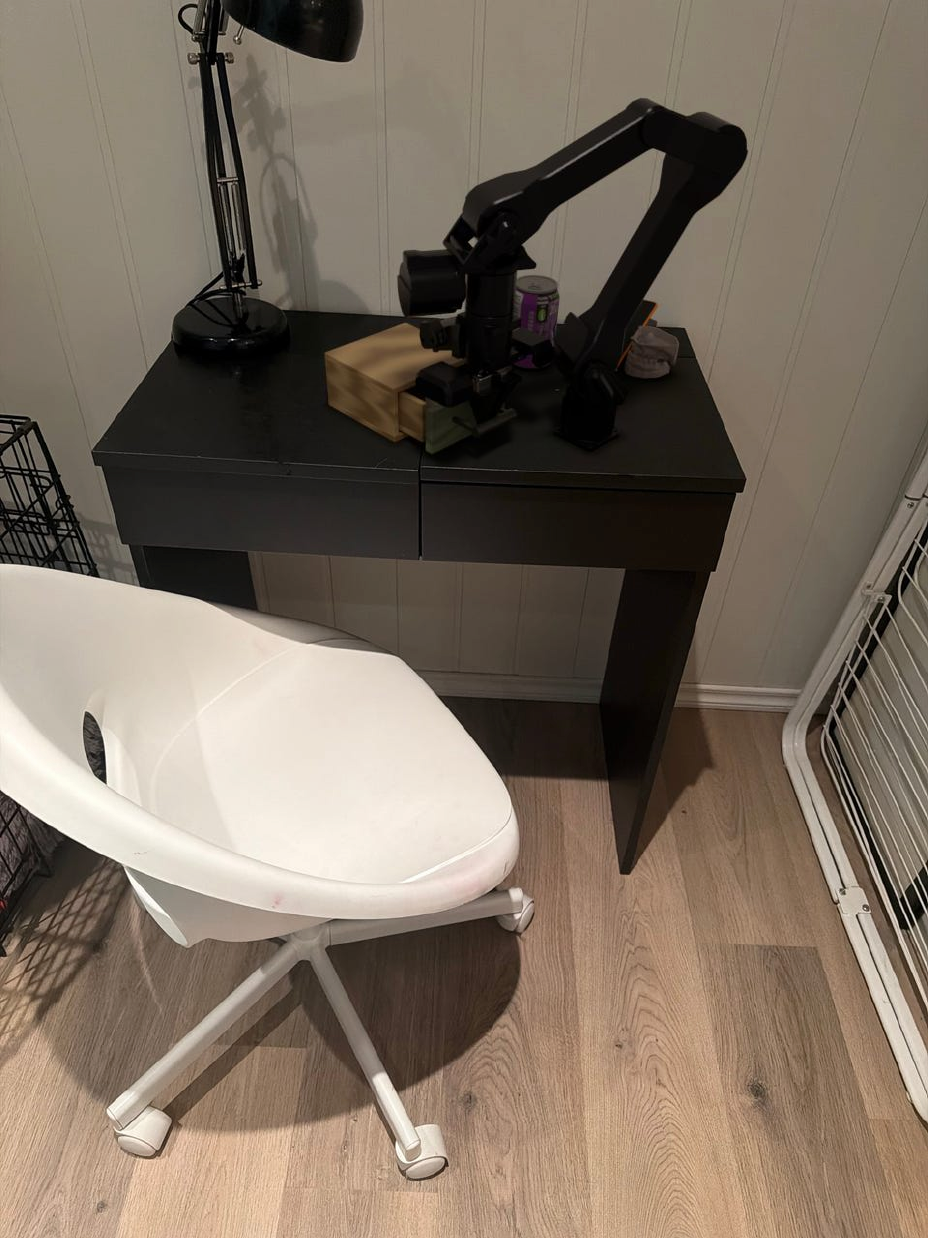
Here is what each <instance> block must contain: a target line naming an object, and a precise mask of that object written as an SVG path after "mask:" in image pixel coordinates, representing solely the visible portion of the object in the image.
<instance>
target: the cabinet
mask: <svg viewBox="0 0 928 1238" xmlns="http://www.w3.org/2000/svg"><path fill="white" fill-rule="evenodd" d="M419 333H420V328H418V327H416V326H414V325H412V324H410V323H407V322H403V323H401V324H398V325H396V326H392V327H390V328H387V329H384V330H382V331H380V332H376V333H374V334H371V335H368V336H365V337H363V338H361V339H358V340H356V341H352V342H349V343H347V344H344V345H341V346H339V347H336V348H334V349H331V350H328V351H325V352H323V353H324V364H325V375H326V388H327V399H328V406H330V407H332V408H333V409H336V410H337V411H339V412H341V413H342V414H344V415H345V416H347V417H349V418H351V419H353V420H355V421H356V422H357V423H360V424H362V425H363V426H365V427H367V428H368V429H370V430H372V431H374V432H375V433H376V434H378V435H381V436H383V437H384V438H386V439H387V440H389V441H391V442H392V443H397V442H399V441H402V440H403V439H405V438H408V437H411V436H410V435H408V434H406V433H405V432H403V431H401V430H399V423H398V393H399V392H401V391H403V390H405V389H408V388H410V387H412V386H415V377H416V373H417V372H418V371H420V370H421V369H423V368H425V367H428V366H430V365H433V364H435V363H438V362H440V361H443V362H445V363H447V364H449V365H451V366H453V367H458V366H460V365H462V364H465V363H464V359H462V358H461V359H456V358H454V357H452V356H451V355H452V350H451V351H439V352H433V350H432V349H424V348H423V347H422V345H421V341H420V337H419Z"/></svg>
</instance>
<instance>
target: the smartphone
mask: <svg viewBox="0 0 928 1238" xmlns="http://www.w3.org/2000/svg"><path fill="white" fill-rule="evenodd" d="M658 306H659V304H658V302H656V301H653V300H648V299H645V298H644V299H643V301H642V302H641V304H640V306H639V307H638V309H637V311H636V312H635V314H634V315H633V317H632V319H631V320H630V322H629V324H628V326H627V328H626V331H625V337H624V344H623V351H622V357H621V359H620V361H619V364H618V366H617V369H618V368H619V366H620V365H621V364H622V362H623V361H624V359H625V357H627V355H628V352H629V350H630V348H631V347H632V339H631V337H633V336H634V335H635V333H636V331H637V330H638V327H639V326H645V325H646V324H647V322H648V321H649V319H650V318H651V317H652V316H653V314H655V311H656V310H657V309H658ZM651 319H652V318H651Z"/></svg>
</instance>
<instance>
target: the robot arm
mask: <svg viewBox="0 0 928 1238" xmlns="http://www.w3.org/2000/svg"><path fill="white" fill-rule="evenodd" d="M653 149H654V150H656V151H658V152H662V153H664V158H663V160H662V167H661V171H660V179H659V185H658V186H659V187H658V191H657V193H656V195H655V197H654V198H653V200H652V202H651V204H650V205H649V207H648V209H647V211H646V212H645V214H644V216H643V217H642V219H641V221H640V223H639V224H638V226H637V227H636V230H635V231H634V233H633V235H632V236H631V238H630V240H629V241H628V243H627V245H626V247H625V248H624V251H623V252H622V254H621V255H620V257H619V259H618V261H617V263H616V264H615V265H614V266H615V267H614V268H613V270H612V271H611V273H610V274H609V276H608V278H607V280H606V281H605V283H604V285H603V286H602V289H601V290H600V292H599V294H598V295H597V298H596V299H595V301H594V303H593V304H592V305H591V306H590V308H587V310H585V311H584V312H583V313H581V314H580V315H576V314H575V313H574V312H572V311H569V312H568V314H567V315H566V316H565V319H564V321H563V324H562V326H561V328H560V329H559V331H558V332H557V333H556V336H555V337H554V338H553V339H552V340H553V341H554V342H555V345H554V347H553V345H552V343H551V341H550V339H549V338H547V337H544V336H542V335H540V334H537V333H535V332H533V331H530V330H528V329H526V328H524V327H523V328H520V329H518V330H515V329H517V328H519V327H521V319H522V318H519V317H517V316H514V311H515V298H516V284H517V278H518V271H527V270H534V269H536V268H537V265H538V264H537V262H536V261H535V260H534V259H533V258H532V257H531V256H530V255H529V254H528V252H527V250H526V247H525V246H524V245H523V244H525V243H526V242H527V241H528V240H530V238H532V237H533V236H534V235H535V234H537V233H538V232H539V230H540V229H541V228H542V226H543V225H544V224H545V222H546V221H547V219H548V218H549V216H550V215H551V214H552V213H553V212H554V211H555V210H556V209H557V208H558V207H560V206H562V205H563V204H565V203H566V202H568V201H570V200H571V199H573V198H574V197H576V196H578V195H579V194H580V193H582V192H584V191H586V190H587V189H589V188H590V187H592V186H593V185H595V184H597V183H598V182H600V181H602V180H603V179H605V178H607V177H608V176H610V175H611V174H612V173H614V172H616V171H618V170H619V169H621V168H623V167H624V166H626V165H627V164H629V163H630V162H632V161H634V160H635V159H636V158H639V157H640V156H642V155H643V154H645V153H646V152H648V151H650V150H653ZM748 154H749V149H748V140H747V136H746V134H745V131H744V130H743V129H742V128H741V127H740V126H739V125H736V124H734V123H731V122H729V121H727V120H725V119H723V118H721V117H719V116H717V115H715V114H712V113H710V112H707V111H697V112H694V113H692V114H690V115H685V114H682V113H680V112H677V111H675V110H673V109H670V108H668V107H666V106H663V105H662V104H660V103H657V102H655V101H654V100H651V99H649V98H648V97H640V98H637V99H635V100H632V101H631V102H630V103H629V104H628V105H627V106H626V108H625V109H623V110H622V111H620V112H618V113H616V115H614V116H612V117H610V118H609V119H607V120H606V121H604V122H602V123H601V124H599V125H598V126H596V127H595V128H593V129H592V130H590V131H588V132H586V133H585V134H584V135H582V136H580V137H578V138H577V139H575V140H574V141H572V142H571V143H569V144H567V145H566V146H564V147H563V148H561V149H560V150H558V151H556V152H554V153H553V154H552V155H550V156H549V157H547V158H545V159H543V160H542V161H541V162H539V163H537V164H536V165H534V166H531V167H529V168H526V169H521V170H517V171H513V172H508V173H507V172H506V173H503V174H500V175H497V176H496V177H493V178H490V179H489V180H485V181H483V182H480V183H479V184H477V185H475V186H474V187H473V188H472V189H470V190H469V192H468V193H467V194H466V195H465V197H464V202H463V205H462V212H461V214H460V215H459V216H458V217H457V220H456V221H455V222H454V224H453V226H452V227H451V229H450V230H449V231H448V233H447V234H446V236H445V237H444V239H443V240H442V246H443V247H444V248H445V249H444V248H443V249H431V250H418V249H406V250H404V251H403V252H402V262H401V263H400V265H399V271H398V274H397V276H396V279H397V280H396V281H397V284H396V285H397V295H398V301H399V305H400V309H401V313H402V315H403V316H404V317H405V318H406V319H407V318H417V317H426V316H427V317H428V316H437V315H448V314H455V313H457V311H458V310H462V309H463V306H464V311H462V312H459V313H457V315H456V316H450V317H447V318H444V319H442V320H440V319H439V318H434V319H432V318H429V319H426V320H423V321H421V322H420V323H419V329H420V333H419V337H420V341H421V345H422V347H423V348H424V349H432V350H433V352H439V351H451V350H452V355H451V356H452V357H454V358H456V359H461V358H462V359H464V363H465V364H462V365H460V366H458V367H453V366H451V365H449V364H447V363H445V362H443V361H440V362H438V363H435V364H433V365H430V366H428V367H425V368H423V369H421V370H420V371H418V372H417V373H416V377H415V392H417V393H419V394H421V395H423V396H425V397H427V398H429V399H430V400H432V401H434V402H436V403H438V404H440V405H442V406H444V407H446V408H453V407H455V406H457V405H459V404H462V403H464V402H466V401H468V400H469V403H470V405H471V408H472V411H473V414H474V417H475V420H476V423H477V425H478V424H480V423H482V422H484V421H486V420H488V419H491V418H493V417H495V416H496V415H497V414H498V412H499V410H500V409H501V407H502V406H503V404H504V403H506V401H507V400H508V398H509V397H510V396H511V394H512V393H513V391H514V389H515V388H516V387H517V385H518V384H519V383H521V382H522V380H523V376H522V374H518V373H517V372H515V367H514V365H515V364H514V363H516V362H518V361H521V360H523V359H525V358H526V356H528V355H530V354H531V355H533V356H532V363H533V364H534V365H535V366H536V367H538V369H541V368H543V367H542V366H544V367H546V366H545V365H547V364H549V363H550V364H551V363H553V365H554V366H555V368H556V370H558V372H559V373H560V374H561V375H562V377H563V379H564V381H565V382H567V383H568V384H569V385H568V386H566V387H565V394H564V395H563V396H562V399H561V400H562V401H561V408H560V414H559V415H560V416H559V424H560V425H559V426H557V427H555V428H554V429H553V434H554V435H556V436H558V437H560V438H562V439H564V440H565V441H568V442H570V443H572V444H574V445H576V446H578V447H580V448H583V449H584V450H585V451H594V450H596V449H597V448H599V447H601V446H603V445H604V444H606V443H608V442H610V441H611V440H613V439H616V437H619V435H620V431H619V430H618V429H617V428H614V427H615V422H616V416H617V411H618V407H619V406H620V407H621V406H623V405H624V403H625V401H626V399H627V396H628V395H629V393H630V389H629V388H628V387H627V386H626V385H625V384H624V383H623V382H622V380H620V378H619V377H618V376H617V375H616V374H615V373H616V372H615V370H616V368H617V366H618V364H619V361H620V359H621V357H622V351H623V344H624V337H625V331H626V328H627V326H628V324H629V322H630V320H631V319H632V317H633V315H634V314H635V312H636V311H637V309H638V307H639V306H640V304H641V302H642V301H643V299H644V300H645V297H646V296H647V294H648V292H649V291H650V289H651V287H652V286H653V284H654V282H655V281H656V279H657V278H658V276H659V275H660V273H661V271H662V269H663V268H664V266H665V264H666V263H667V262H668V259H669V258H670V257H671V254H672V253H673V252H674V249H675V248H676V246H677V245H678V243H679V241H680V240H681V238H682V236H683V235H684V233H685V231H686V230H687V228H688V226H689V225H690V224H691V222H692V220H693V218H694V217H695V215H696V214H697V213H699V211H701V210H702V209H703V208H705V207H706V206H707V205H709V204H710V203H712V202H714V200H715V199H717V198H719V197H720V196H721V195H722V194H723V193H724V191H725V190H726V189H727V187H728V186H729V185H730V184H731V183H732V181H733V180H734V179H735V178H736V176H738V174H739V172H740V171H741V170H742V168H743V167H744V165H745V162H746V161H747V158H748ZM473 239H475V240H476V243H475V244H474V245H473V246H472V244H471V243H470V241H472V240H473ZM513 330H515V331H513ZM550 364H549V365H550ZM547 366H548V365H547ZM540 367H541V368H540ZM618 367H619V366H618ZM617 369H618V368H617Z"/></svg>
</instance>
